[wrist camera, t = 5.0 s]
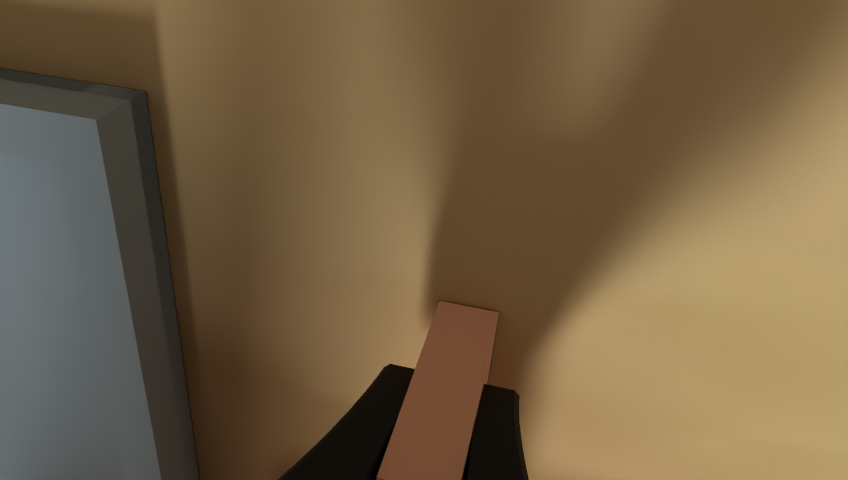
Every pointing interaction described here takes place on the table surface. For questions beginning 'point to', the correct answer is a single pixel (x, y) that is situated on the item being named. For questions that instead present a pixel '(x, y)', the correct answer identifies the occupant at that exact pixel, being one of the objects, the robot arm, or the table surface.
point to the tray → (86, 290)
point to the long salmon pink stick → (442, 397)
